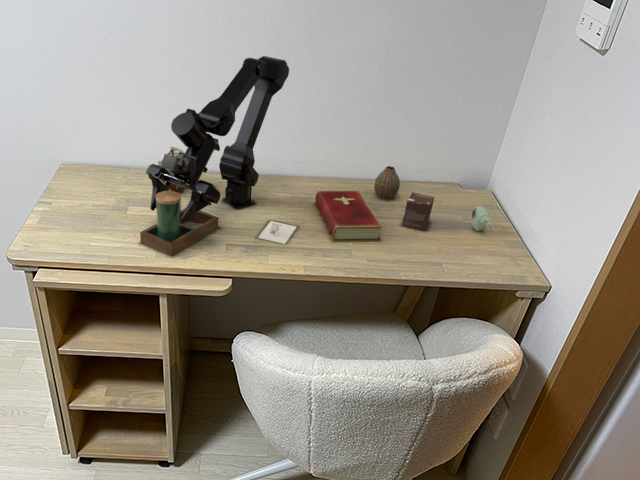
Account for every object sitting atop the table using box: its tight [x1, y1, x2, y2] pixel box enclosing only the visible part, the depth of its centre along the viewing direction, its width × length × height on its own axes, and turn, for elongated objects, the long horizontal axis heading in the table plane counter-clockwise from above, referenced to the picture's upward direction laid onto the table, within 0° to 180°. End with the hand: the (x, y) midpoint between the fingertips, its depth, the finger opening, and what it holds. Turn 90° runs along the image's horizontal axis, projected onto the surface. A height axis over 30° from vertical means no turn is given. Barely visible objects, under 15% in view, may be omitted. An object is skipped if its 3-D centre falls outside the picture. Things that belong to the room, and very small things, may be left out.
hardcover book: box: [314, 190, 383, 242], centre depth 159 cm, size 12×21×4 cm, turn 6°
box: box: [402, 192, 435, 231], centre depth 159 cm, size 6×6×7 cm
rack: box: [139, 207, 220, 257], centre depth 149 cm, size 18×10×3 cm, turn 145°
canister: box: [155, 191, 182, 242], centre depth 143 cm, size 6×6×12 cm
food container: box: [157, 146, 186, 194], centre depth 169 cm, size 12×6×10 cm, turn 168°
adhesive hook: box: [268, 221, 282, 236], centre depth 152 cm, size 3×3×3 cm
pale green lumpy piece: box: [470, 205, 491, 232], centre depth 158 cm, size 8×4×7 cm, turn 175°
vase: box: [373, 165, 401, 201], centre depth 172 cm, size 7×7×9 cm
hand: (166, 215), depth 142 cm, fingers open, 9 cm apart
